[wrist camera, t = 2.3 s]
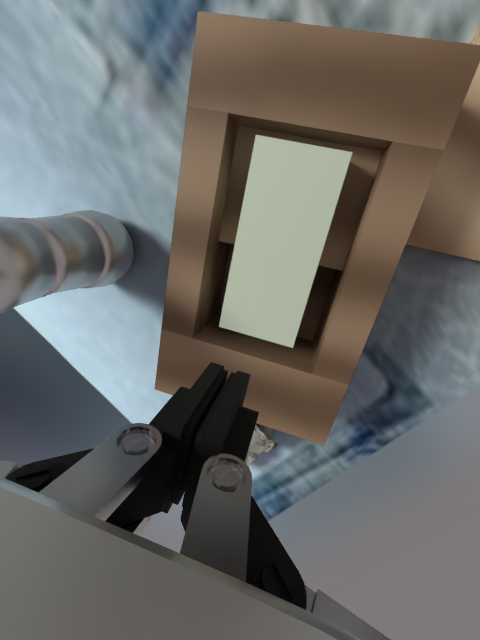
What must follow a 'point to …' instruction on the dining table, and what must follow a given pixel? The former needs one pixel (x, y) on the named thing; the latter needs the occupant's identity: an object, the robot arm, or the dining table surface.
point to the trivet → (455, 187)
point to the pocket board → (318, 109)
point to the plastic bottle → (60, 254)
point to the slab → (281, 236)
